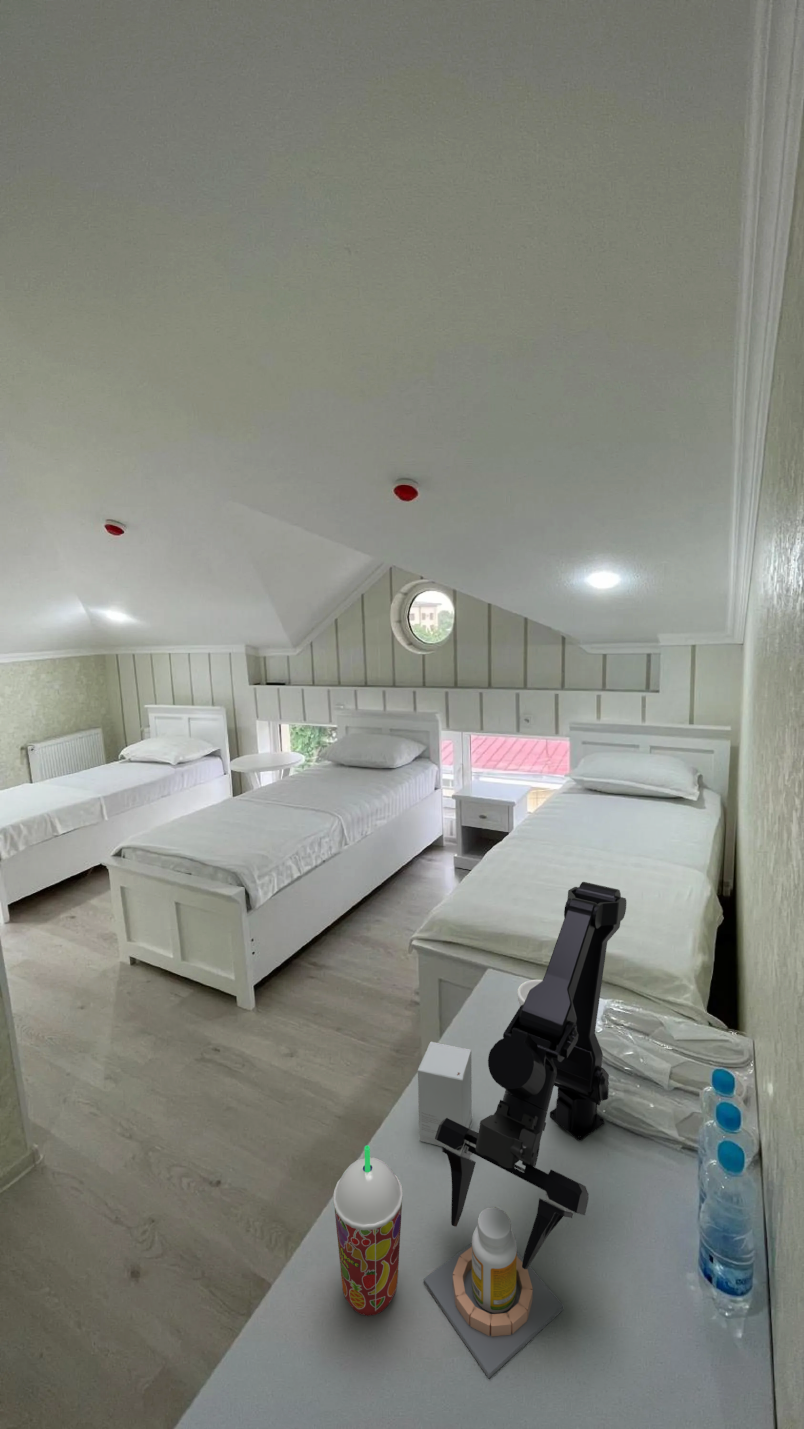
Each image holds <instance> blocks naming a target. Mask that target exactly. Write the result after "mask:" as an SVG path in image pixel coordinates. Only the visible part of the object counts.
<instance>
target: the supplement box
mask: <svg viewBox="0 0 804 1429" xmlns="http://www.w3.org/2000/svg"><path fill="white" fill-rule="evenodd" d="M472 1078H473V1077H472V1049H468V1048H464V1047H459V1046H454V1045H449V1044H445V1043H444V1044H443V1043H439V1042H435V1041H430V1042H429V1044H428V1046H427V1049H426V1050H425V1053H424V1055H423V1057H422V1059H421V1062H420V1064H419V1066H418V1068H417V1086H418V1088H417V1089H418V1093H417V1094H418V1096H417V1097H418V1134H419V1136H418V1137H419V1142H422V1143H427V1144H431V1145H435V1146H439V1147H444V1148H445V1144H443V1143H442V1142H440V1141H438V1140H436V1139H435V1136H436V1133H437V1130H438V1127H439V1124H440V1123H441V1122H442V1121H443V1120H444V1119H446V1118H448V1119H450V1120H453V1121H455V1122H457V1123H459V1124H461V1125H463V1126H465V1127H467V1128H469V1129H470V1125H471V1122H472V1118H473V1113H472V1111H473V1110H472V1107H473V1106H472V1101H473V1100H472V1089H473V1088H472V1084H473V1083H472V1082H473V1081H472Z"/></svg>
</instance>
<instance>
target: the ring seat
mask: <svg viewBox="0 0 804 1429" xmlns="http://www.w3.org/2000/svg"><path fill="white" fill-rule="evenodd" d="M523 1258H524V1257H522V1256H521V1254H520V1252H518V1251H517V1261H516V1297H515V1300H514V1303H513V1304H512V1306H511V1307H510V1308H509V1309H508V1310H506V1311H504V1312H501V1313H492V1312H489V1311H487V1310H485V1309H483V1308H482V1307H481V1306H480V1305H479V1304H478V1302H477V1301H476V1299H475V1297H474V1295H473V1291H472V1242H470V1244H468V1245H467V1246H465V1247H464V1248H462V1249H461V1250H460V1251H459V1252H457V1253H456V1254H455V1255H454V1256H452V1257H451V1258H449V1259H448V1260H447V1261H446V1262H444V1263H442V1264H441V1265H440V1266H439V1267H438V1268H437V1267H436V1268H435V1269H434V1270H433V1271H431V1273H429V1274H428V1275H426V1276H425V1277H424V1278H423V1284H424V1285H425V1287H426V1289H427V1290H428V1292H429V1294H430V1295H431V1296H432V1298H433V1299H434V1300H435V1302H436V1303H437V1306H439V1308H440V1309H441V1311H442V1312H443V1314H444V1315H445V1316H446V1318H447V1319H448V1321H449V1323H450V1324H451V1326H452V1327H453V1329H454V1330H455V1331H456V1333H457V1334H458V1335H459V1337H460V1339H461V1340H462V1342H463V1343H464V1344H465V1345H466V1348H467V1349H468V1350H469V1352H470V1353H471V1354H472V1356H473V1358H474V1359H475V1361H476V1363H478V1366H480V1368H481V1369H482V1371H483V1372H484V1374H485V1375H486V1377H487V1378H488V1379H490V1378H491V1377H492V1376H494V1375H495V1374H496V1373H497V1372H498V1371H499V1370H500V1369H501V1368H502V1367H503V1366H505V1364H507V1363H508V1362H509V1360H511V1359H512V1358H513V1357H514V1356H516V1355H517V1353H518V1352H520V1350H521V1349H523V1348H524V1347H525V1346H526V1345H527V1344H528V1343H529V1342H530V1341H531V1340H532V1339H533V1338H534V1337H536V1336H537V1335H538V1334H539V1333H540V1332H541V1331H542V1330H543V1329H544V1328H546V1326H547V1325H548V1324H549V1323H550V1322H552V1321H553V1320H554V1319H555V1318H556V1317H557V1316H558V1315H560V1313H561V1312H563V1311H564V1304H563V1303H562V1302H561V1301H560V1299H559V1298H558V1297H557V1296H556V1295H555V1294H554V1292H553V1291H552V1290H551V1289H550V1288H549V1286H548V1285H547V1284H546V1283H545V1282H544V1280H542V1279H541V1278H540V1276H539V1275H538V1274H537V1273H536V1271H534V1269H533V1268H532V1266H530V1265H529V1267H528V1268H527V1269H524V1268H522V1263H523Z"/></svg>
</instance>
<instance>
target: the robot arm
mask: <svg viewBox="0 0 804 1429" xmlns="http://www.w3.org/2000/svg"><path fill="white" fill-rule="evenodd" d="M626 912H627V899H626V897H623V896H622V895H621V890H620V889H619V888H613V887H610V886H609V887H608V886H604V885H600V884H595V883H591V882H586V881H582V882H581V883H580V884H579V886H574V887H572V888H570V889H568V891H567V900H566V902H565V905H564V910H563V916H564V919H563V922H562V924H561V927H560V930H559V933H558V937H557V939H556V941H555V944H554V947H553V951H552V954H551V956H550V959H549V962H548V965H547V967H546V970H545V974H544V976H543V977H542V978H543V979H542V980H543V981H542V982H540V983H539V984H537V985H536V986H535V987H533V988H532V989H531V990H530V991H529V993H528V995H527V998H526V1000H525V1002H524V1004H523V1005H521V1006H520V1005H519V1008H518V1010H517V1011H516V1013H515V1014H514V1016H513V1017H512V1019H511V1020H510V1022H509V1024H508V1025H507V1027H506V1029H505V1030H504V1032H503V1035H502V1038H501V1039H500V1040H498V1041H496V1042H495V1043H494V1045H493V1046H492V1048H491V1049H490V1050H489V1052H488V1057H487V1065H488V1071H489V1074H490V1075H491V1077H492V1079H493V1081H495V1083H496V1084H498V1086H500V1087H502V1088H503V1089H505V1091H504V1094H503V1097H502V1099H500V1100H499V1103H498V1104H497V1107H496V1110H495V1111H494V1113H493V1114H489V1115H488V1116H487V1117H485V1118H483V1119H481V1120H480V1121H479V1128H478V1132H477V1131H475V1130H473V1129H471V1128H470V1127H469V1128H467V1127H465V1126H463V1125H461V1124H459V1123H457V1122H455V1121H453V1120H450V1119H448V1118H446V1119H444V1120H443V1121H442V1122H441V1123H440V1124H439V1127H438V1130H437V1133H436V1136H435V1139H436V1140H438V1141H440V1142H442V1143H443V1144H445V1147H442V1146H441V1147H442V1148H441V1150H442V1151H441V1152H442V1153H443V1154H445V1155H446V1156H447V1159H448V1162H449V1163H448V1164H449V1166H450V1176H451V1215H450V1216H451V1217H450V1220H451V1221H450V1223H451V1226H453V1227H457V1226H458V1224H459V1222H460V1219H461V1217H462V1214H463V1211H464V1207H465V1203H466V1199H467V1196H468V1193H469V1189H470V1185H471V1183H472V1181H471V1180H472V1177H473V1174H474V1170H475V1168H476V1161H475V1160H473V1159H471V1156H472V1155H475V1156H477V1157H479V1158H481V1159H483V1160H485V1161H487V1162H488V1163H491V1164H493V1165H494V1166H497V1167H498V1168H501V1169H503V1170H504V1171H506V1172H509V1173H510V1174H512V1175H514V1176H516V1177H518V1178H520V1179H522V1180H523V1181H525V1182H528V1183H529V1184H532V1185H533V1186H535V1187H537V1188H539V1189H540V1190H543V1191H545V1195H546V1197H545V1199H543V1198H538V1203H537V1212H536V1216H535V1220H534V1223H533V1226H532V1228H531V1231H530V1235H529V1238H528V1241H527V1244H526V1247H525V1250H524V1253H523V1254H524V1255H523V1257H522V1258H523V1263H522V1268H524V1269H527V1268H528V1267H529V1266H530V1265H531V1264H532V1261H534V1258H535V1257H536V1256H537V1254H538V1252H539V1250H540V1249H541V1247H542V1246H543V1244H544V1243H545V1241H546V1239H547V1238H548V1236H549V1235H550V1234H551V1233H552V1231H553V1230H554V1229H555V1227H556V1226H557V1225H558V1224H559V1223H560V1221H561V1220H562V1219H563V1218H569V1219H573V1217H574V1213H575V1214H579V1215H582V1216H586V1214H587V1208H588V1203H589V1191H588V1189H587V1187H586V1186H585V1185H583V1184H581V1183H579V1182H578V1181H575V1180H573V1179H571V1178H570V1177H568V1176H565V1175H564V1174H561V1173H559V1172H558V1171H555V1170H553V1169H550V1170H549V1172H548V1173H547V1172H545V1171H543V1170H541V1169H539V1168H537V1167H536V1166H537V1162H538V1158H539V1153H540V1146H541V1139H542V1135H543V1132H545V1130H546V1125H547V1122H546V1119H547V1115H548V1110H549V1106H550V1103H551V1099H552V1094H553V1090H554V1087H557V1098H556V1101H555V1102H556V1107H555V1108H554V1109H552V1110H551V1111H550V1112H549V1117H550V1118H551V1119H552V1120H553V1121H555V1122H556V1123H557V1124H558V1125H559V1126H561V1127H562V1129H564V1130H566V1132H567V1133H569V1134H570V1135H571V1136H573V1138H575V1139H576V1140H577V1141H581V1142H582V1141H583V1140H584V1139H586V1138H587V1137H588V1136H590V1135H591V1134H592V1133H594V1132H595V1131H596V1130H598V1129H600V1128H601V1127H602V1126H604V1125H605V1123H606V1122H605V1119H604V1118H603V1117H602V1116H601V1115H599V1114H598V1106H600V1105H601V1104H602V1103H601V1102H603V1101H607V1100H608V1099H609V1091H610V1089H609V1084H610V1081H609V1079H610V1078H609V1077H610V1074H609V1073H608V1071H606V1069H605V1067H603V1066H602V1064H603V1050H602V1048H601V1045H600V1042H599V1040H598V1037H597V1035H596V1027H597V1021H598V1020H597V1019H598V1012H599V1006H600V998H601V992H602V985H603V984H602V983H603V976H604V969H605V962H606V954H607V947H608V942H609V941H610V939H611V938H612V937H613V936H614V935H615V934H616V932H617V931H618V930H619V929H620V927H621V922H622V921H623V919H624V918H625V915H626ZM519 1161H520V1162H522V1163H521V1165H523V1166H525V1167H524V1168H523V1167H522V1166H519V1165H517V1163H518V1162H519Z"/></svg>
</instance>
